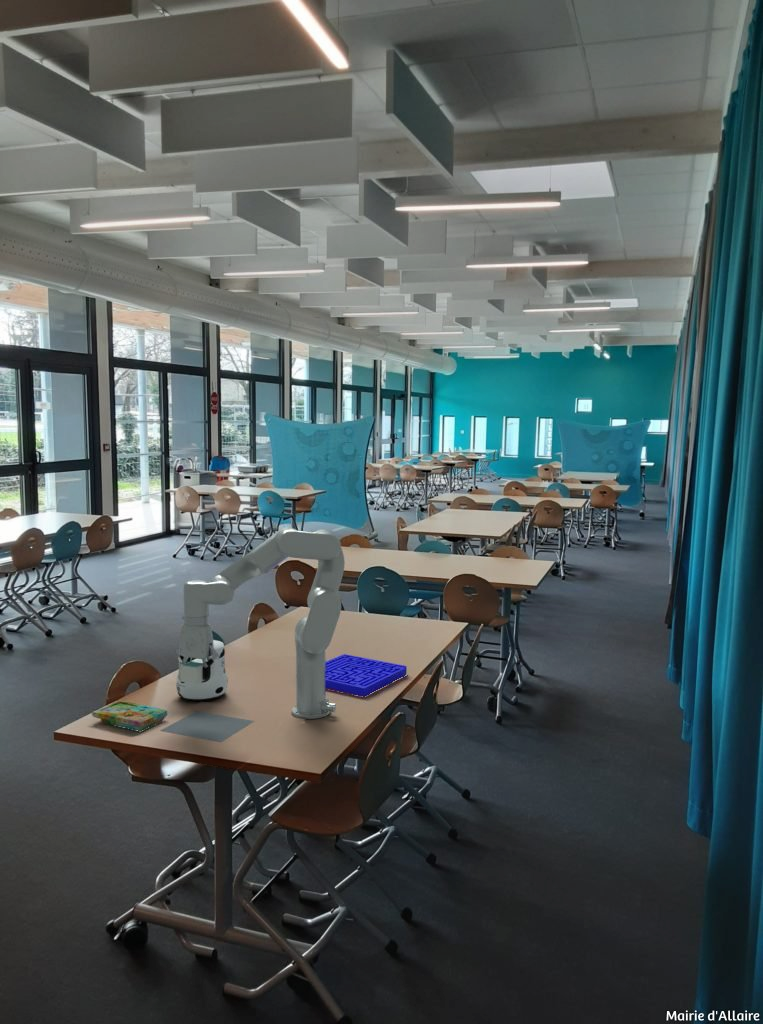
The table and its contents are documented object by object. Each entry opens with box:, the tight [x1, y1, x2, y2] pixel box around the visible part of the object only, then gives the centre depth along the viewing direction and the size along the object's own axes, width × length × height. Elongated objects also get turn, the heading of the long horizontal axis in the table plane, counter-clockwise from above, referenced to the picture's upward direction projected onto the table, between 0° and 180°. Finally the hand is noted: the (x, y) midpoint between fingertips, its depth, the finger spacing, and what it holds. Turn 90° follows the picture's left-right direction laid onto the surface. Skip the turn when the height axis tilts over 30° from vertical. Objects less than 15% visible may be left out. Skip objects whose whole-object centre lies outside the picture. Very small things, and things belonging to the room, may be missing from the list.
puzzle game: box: [91, 700, 168, 732], centre depth 235 cm, size 12×5×20 cm
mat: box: [160, 710, 255, 743], centre depth 231 cm, size 22×18×1 cm
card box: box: [180, 659, 214, 684], centre depth 233 cm, size 9×6×5 cm, turn 157°
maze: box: [325, 653, 407, 698], centre depth 279 cm, size 30×30×4 cm
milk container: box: [175, 639, 229, 702], centre depth 259 cm, size 17×17×18 cm
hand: (197, 676), depth 233 cm, fingers closed on card box, 6 cm apart
